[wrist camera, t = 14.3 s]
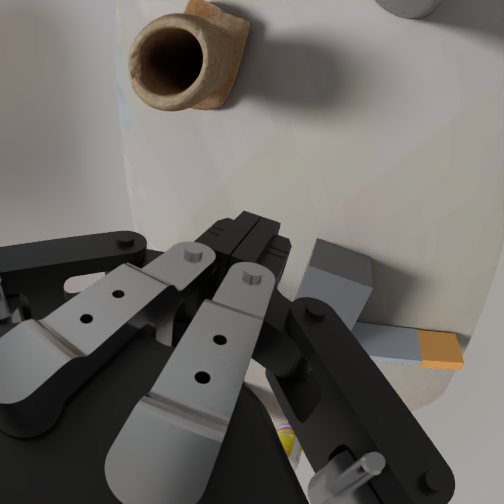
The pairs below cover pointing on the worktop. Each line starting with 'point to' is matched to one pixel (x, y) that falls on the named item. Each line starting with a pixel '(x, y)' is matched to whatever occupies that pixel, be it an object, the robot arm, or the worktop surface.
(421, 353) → the grey and orange bar
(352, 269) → the camera body
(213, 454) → the robot arm
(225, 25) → the clay pot
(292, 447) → the supplement bottle
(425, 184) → the worktop surface
